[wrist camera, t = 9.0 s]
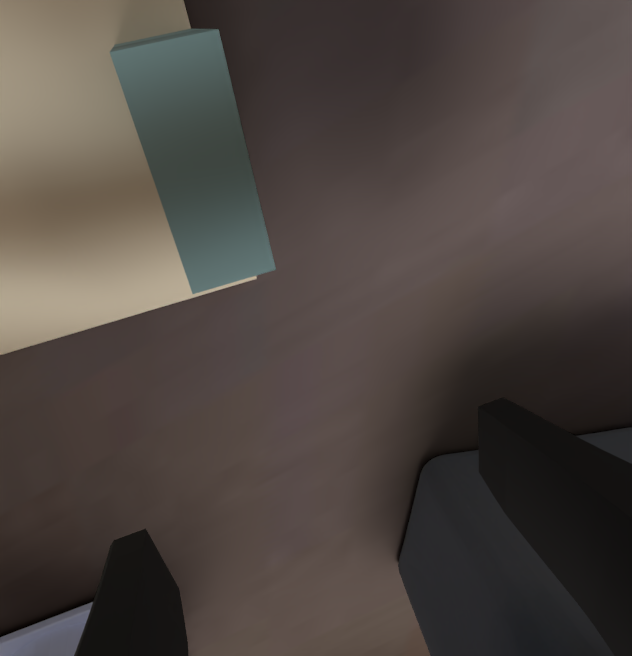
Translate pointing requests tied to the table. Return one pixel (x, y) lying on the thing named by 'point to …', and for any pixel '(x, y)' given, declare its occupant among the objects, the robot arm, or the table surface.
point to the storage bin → (488, 569)
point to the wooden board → (117, 166)
